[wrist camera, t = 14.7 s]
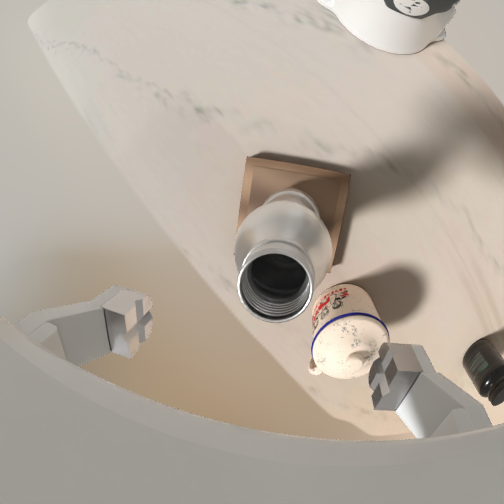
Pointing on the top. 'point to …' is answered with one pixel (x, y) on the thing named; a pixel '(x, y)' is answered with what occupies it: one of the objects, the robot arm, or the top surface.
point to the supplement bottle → (486, 370)
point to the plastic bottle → (281, 256)
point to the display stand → (299, 177)
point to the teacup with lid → (345, 333)
